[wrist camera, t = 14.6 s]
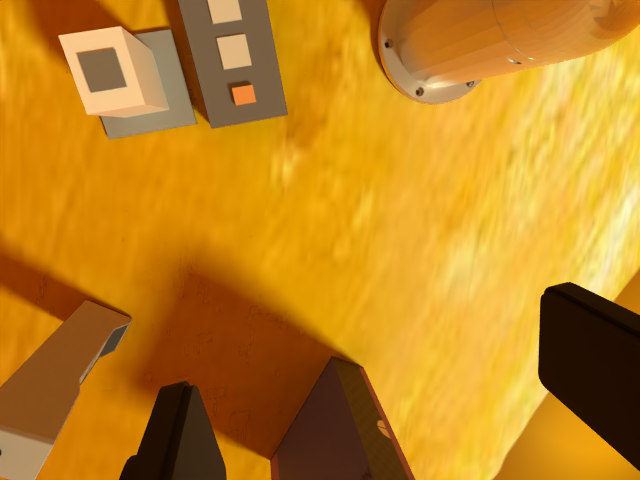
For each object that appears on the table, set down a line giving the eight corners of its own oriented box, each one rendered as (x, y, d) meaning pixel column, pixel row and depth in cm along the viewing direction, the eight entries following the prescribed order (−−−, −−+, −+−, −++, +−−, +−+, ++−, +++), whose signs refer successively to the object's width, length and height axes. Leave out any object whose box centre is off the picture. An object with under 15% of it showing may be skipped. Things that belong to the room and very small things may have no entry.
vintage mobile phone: (118, 344, 40) (-76, 659, 16) (72, 326, 38) (-219, 645, 15) (134, 317, 39) (-46, 603, 16) (87, 298, 38) (-191, 582, 14)
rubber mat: (171, 30, 32) (170, 29, 31) (197, 123, 34) (196, 123, 34) (77, 44, 31) (75, 43, 31) (110, 139, 34) (108, 139, 33)
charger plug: (151, 50, 32) (119, 25, 24) (169, 109, 33) (144, 104, 26) (104, 57, 31) (56, 34, 23) (125, 117, 33) (86, 114, 25)
